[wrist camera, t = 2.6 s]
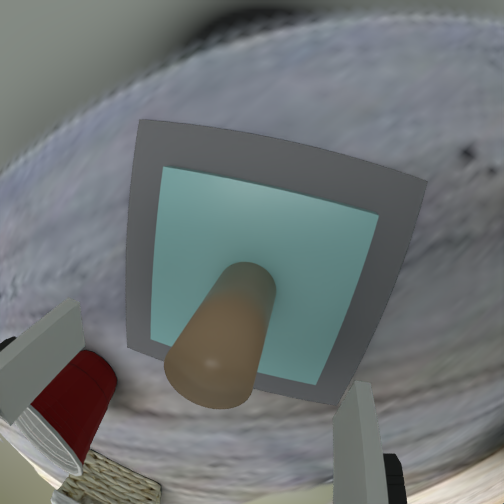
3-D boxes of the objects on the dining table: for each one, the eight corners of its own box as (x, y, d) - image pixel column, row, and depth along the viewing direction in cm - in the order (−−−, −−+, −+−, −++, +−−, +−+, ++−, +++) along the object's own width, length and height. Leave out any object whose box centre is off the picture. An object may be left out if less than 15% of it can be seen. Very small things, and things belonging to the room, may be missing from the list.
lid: (375, 212, 18) (433, 271, 9) (315, 377, 23) (311, 479, 14) (169, 165, 20) (68, 185, 10) (155, 333, 25) (94, 411, 15)
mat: (425, 180, 17) (427, 181, 17) (336, 402, 24) (336, 405, 24) (142, 119, 19) (139, 119, 19) (129, 345, 26) (127, 347, 26)
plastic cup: (67, 309, 27) (-11, 373, 16) (148, 374, 27) (88, 462, 16) (55, 363, 31) (0, 419, 20) (122, 415, 31) (76, 484, 20)
